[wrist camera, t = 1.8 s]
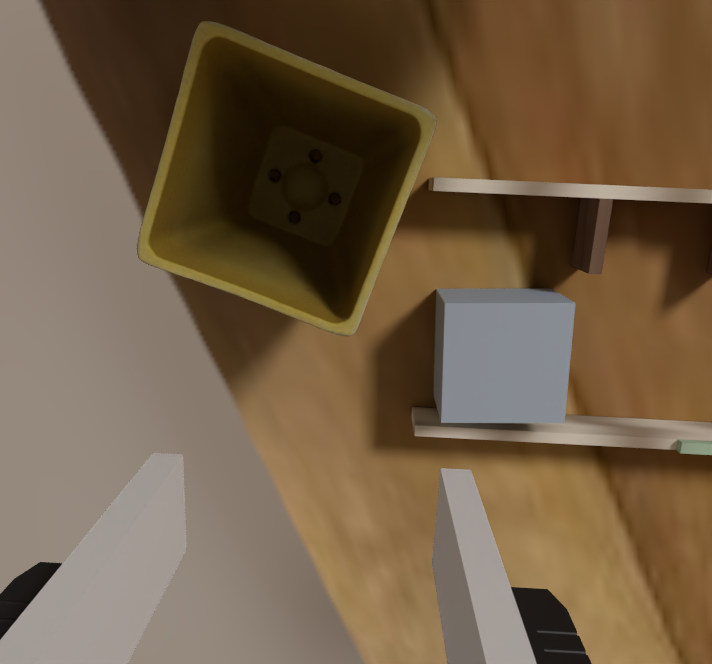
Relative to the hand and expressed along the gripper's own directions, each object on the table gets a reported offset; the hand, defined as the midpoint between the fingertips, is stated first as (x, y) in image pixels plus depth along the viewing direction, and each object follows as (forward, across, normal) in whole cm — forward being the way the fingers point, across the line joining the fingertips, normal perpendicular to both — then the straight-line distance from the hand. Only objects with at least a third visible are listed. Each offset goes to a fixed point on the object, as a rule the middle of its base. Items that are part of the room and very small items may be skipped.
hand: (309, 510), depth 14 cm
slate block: (+17, +8, 0) cm, 19 cm away
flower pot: (+17, -2, +8) cm, 19 cm away
